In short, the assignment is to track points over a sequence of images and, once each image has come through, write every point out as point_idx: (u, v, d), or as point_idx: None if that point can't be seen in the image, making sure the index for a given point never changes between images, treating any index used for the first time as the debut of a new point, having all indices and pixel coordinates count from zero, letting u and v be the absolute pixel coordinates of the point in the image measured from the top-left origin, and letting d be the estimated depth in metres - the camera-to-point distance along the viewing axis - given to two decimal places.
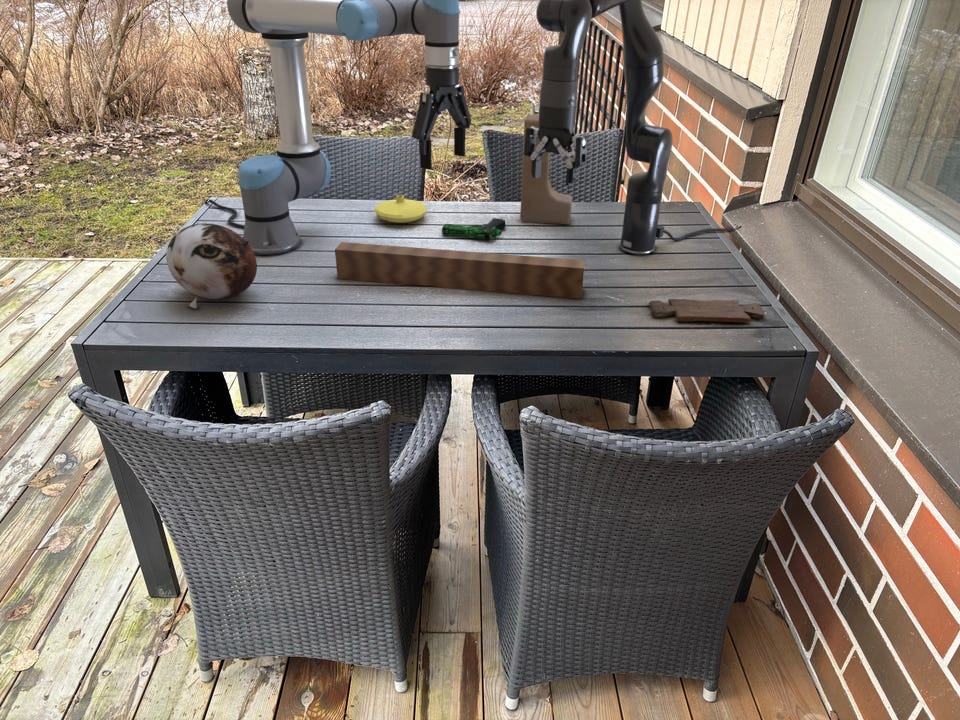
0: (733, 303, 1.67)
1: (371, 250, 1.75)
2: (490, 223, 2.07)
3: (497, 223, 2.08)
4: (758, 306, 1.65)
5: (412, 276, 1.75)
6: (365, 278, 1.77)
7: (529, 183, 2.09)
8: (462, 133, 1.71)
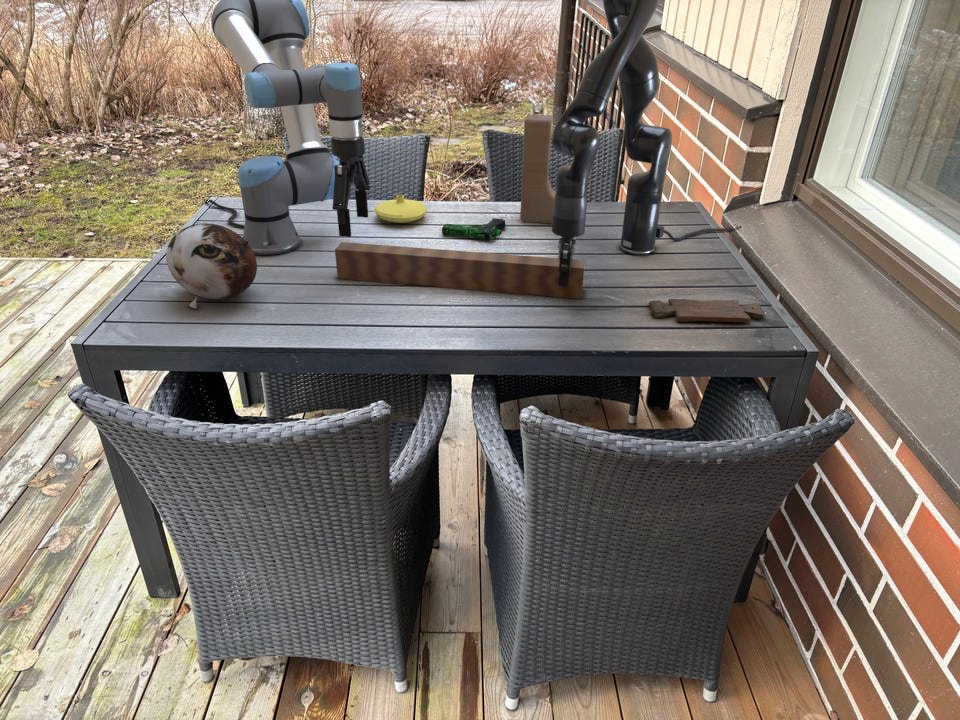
0: (733, 303, 1.67)
1: (371, 250, 1.75)
2: (490, 223, 2.07)
3: (497, 223, 2.08)
4: (758, 306, 1.65)
5: (412, 276, 1.75)
6: (365, 278, 1.77)
7: (529, 183, 2.09)
8: (364, 195, 1.76)
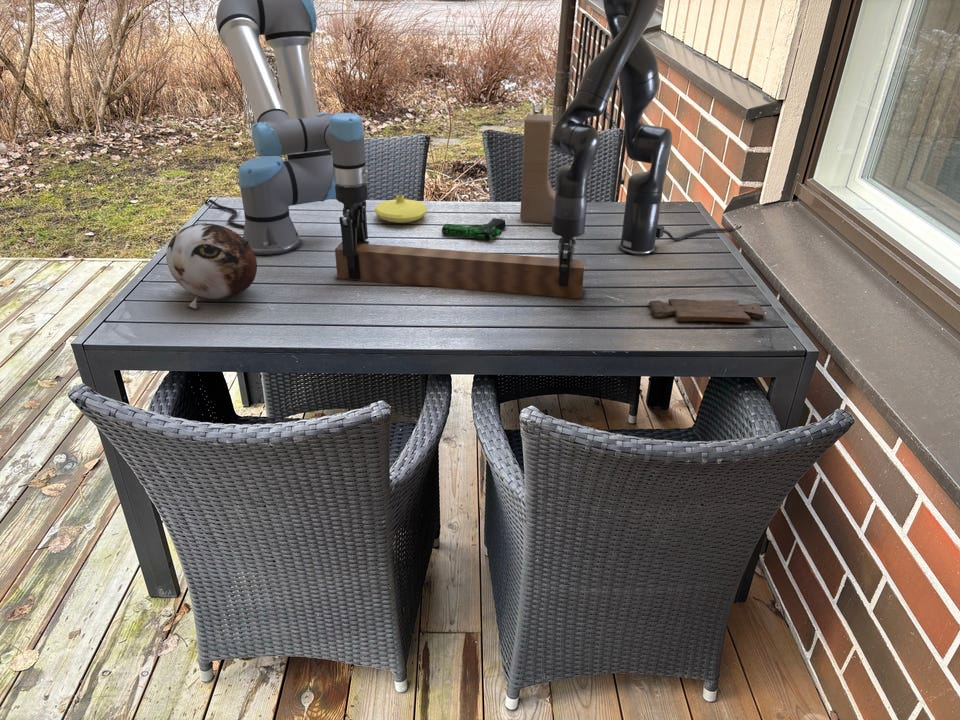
0: (733, 303, 1.67)
1: (371, 250, 1.75)
2: (490, 223, 2.07)
3: (497, 223, 2.08)
4: (758, 306, 1.65)
5: (412, 276, 1.75)
6: (365, 278, 1.77)
7: (529, 183, 2.09)
8: None
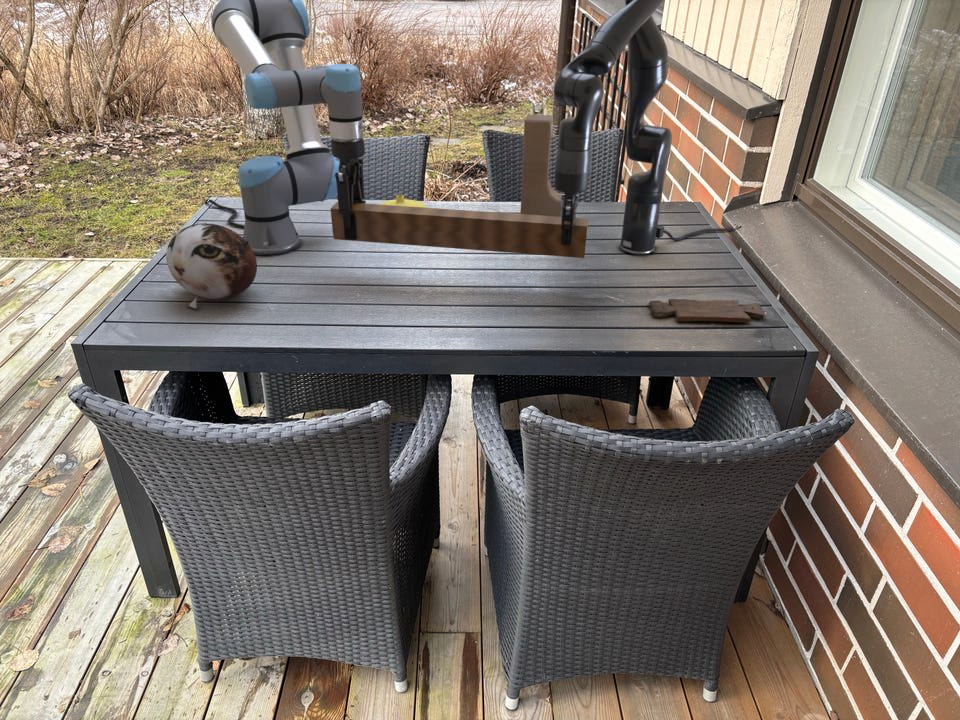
0: (733, 303, 1.67)
1: (367, 209, 1.69)
2: None
3: None
4: (758, 306, 1.65)
5: (410, 236, 1.70)
6: (362, 239, 1.72)
7: (529, 183, 2.09)
8: None
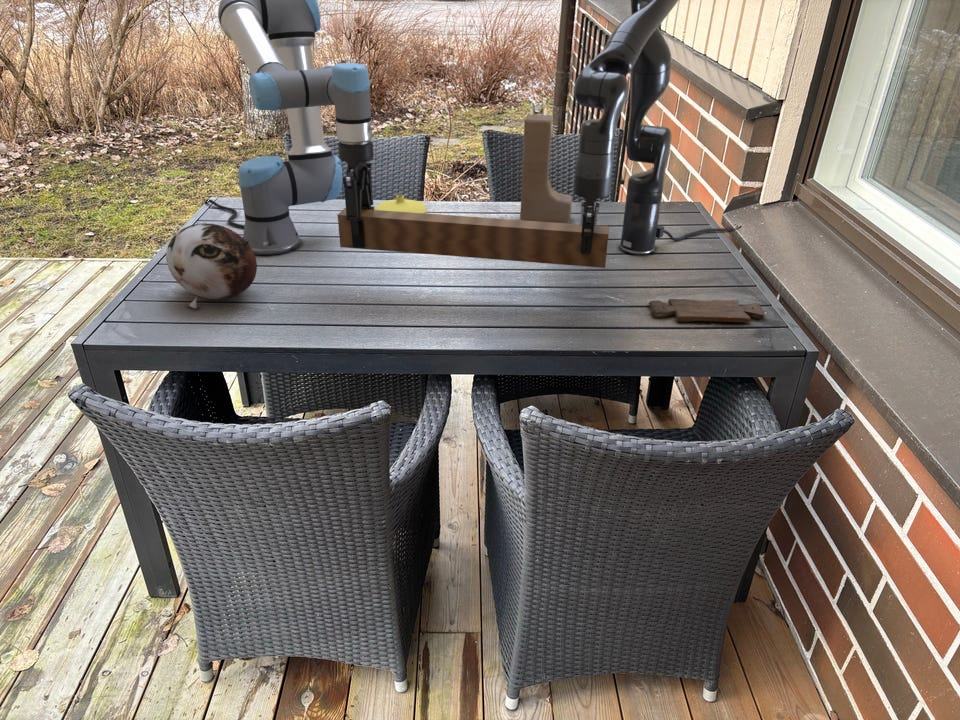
0: (733, 303, 1.67)
1: (376, 215, 1.61)
2: None
3: None
4: (758, 306, 1.65)
5: (420, 244, 1.62)
6: (370, 247, 1.64)
7: (529, 183, 2.09)
8: None
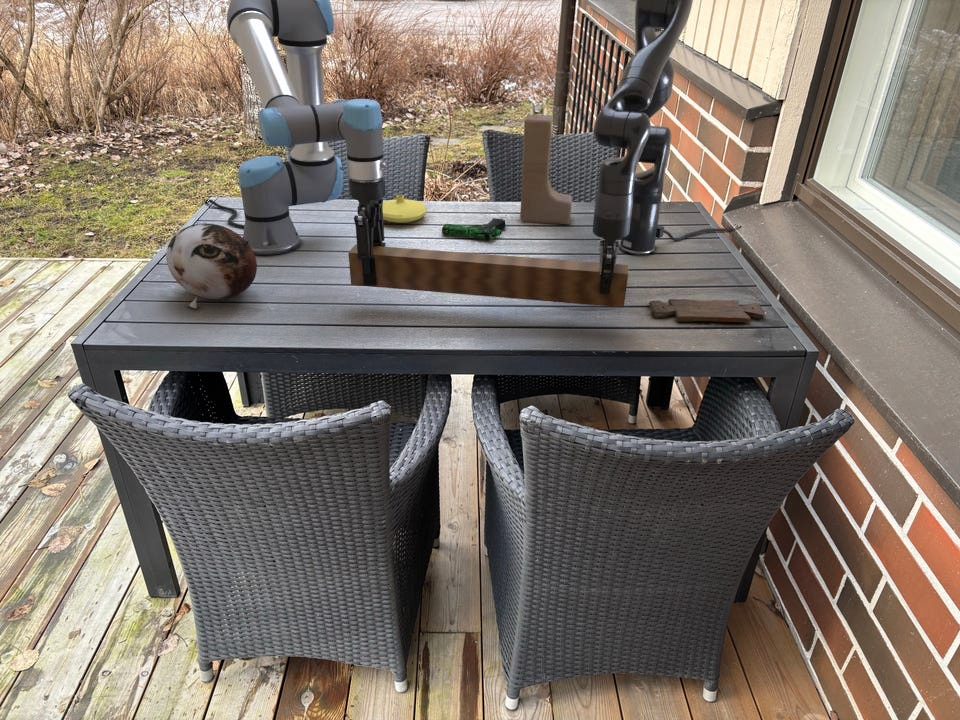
0: (733, 303, 1.67)
1: (388, 253, 1.57)
2: (490, 223, 2.07)
3: (497, 223, 2.08)
4: (758, 306, 1.65)
5: (434, 283, 1.57)
6: (382, 285, 1.60)
7: (529, 183, 2.09)
8: None
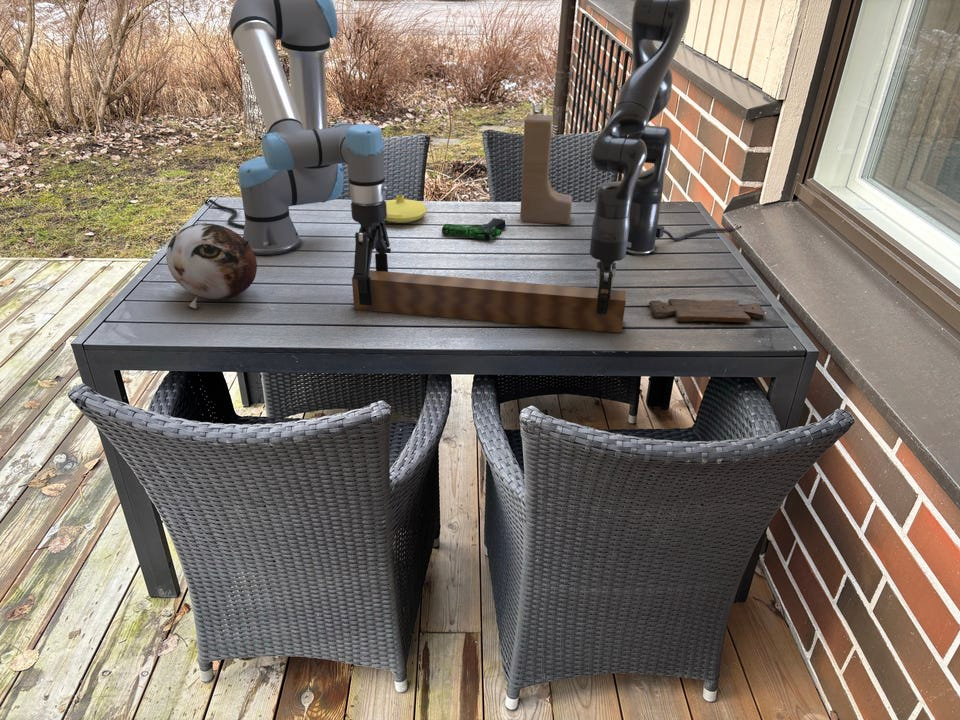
0: (733, 303, 1.67)
1: (391, 278, 1.60)
2: (490, 223, 2.07)
3: (497, 223, 2.08)
4: (758, 306, 1.65)
5: (435, 307, 1.61)
6: (384, 309, 1.63)
7: (529, 183, 2.09)
8: (385, 259, 1.66)
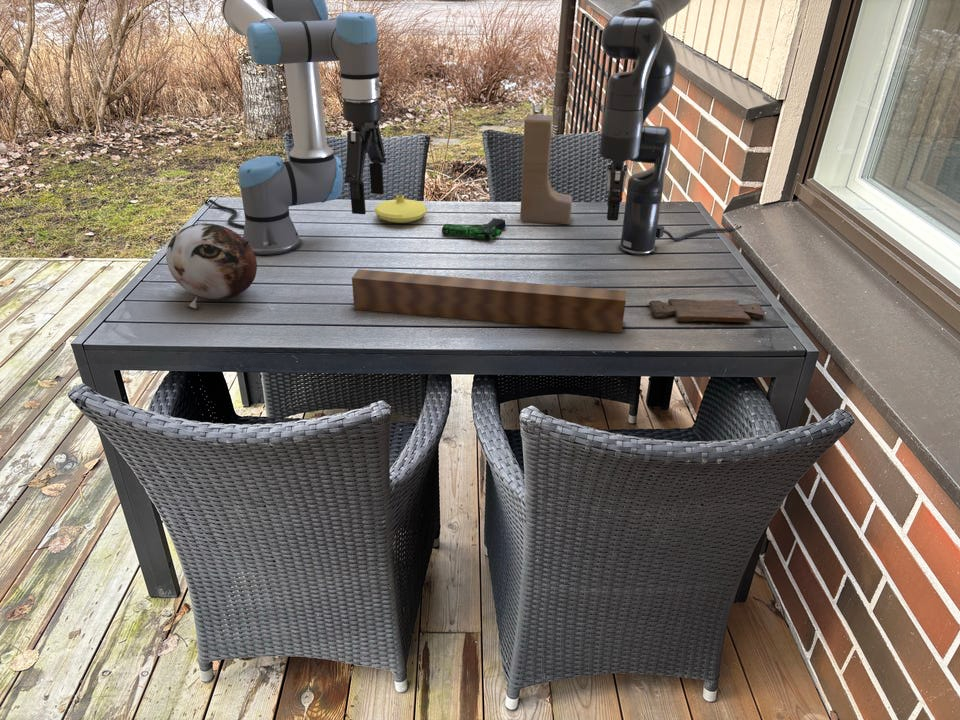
0: (733, 303, 1.67)
1: (391, 278, 1.60)
2: (490, 223, 2.07)
3: (497, 223, 2.08)
4: (758, 306, 1.65)
5: (435, 307, 1.61)
6: (384, 309, 1.63)
7: (529, 183, 2.09)
8: (380, 169, 1.55)
